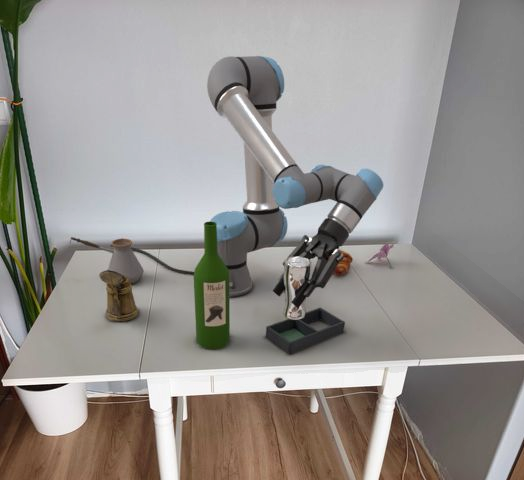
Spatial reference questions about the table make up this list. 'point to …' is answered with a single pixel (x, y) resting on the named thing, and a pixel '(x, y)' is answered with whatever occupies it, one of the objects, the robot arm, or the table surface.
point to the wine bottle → (211, 294)
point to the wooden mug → (119, 297)
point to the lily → (383, 252)
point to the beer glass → (295, 285)
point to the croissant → (343, 263)
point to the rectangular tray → (304, 331)
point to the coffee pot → (121, 258)
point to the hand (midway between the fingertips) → (285, 299)
